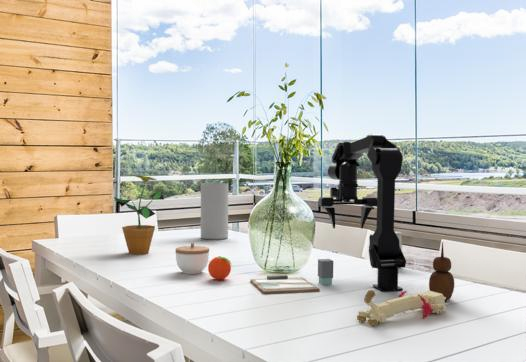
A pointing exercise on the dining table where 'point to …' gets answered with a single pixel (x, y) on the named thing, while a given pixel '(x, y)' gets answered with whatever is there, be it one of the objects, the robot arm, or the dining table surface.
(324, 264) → the grey and teal block
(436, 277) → the wooden figurine
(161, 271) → the dining table surface
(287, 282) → the square wooden frame
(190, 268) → the lidded jar
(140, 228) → the potted plant
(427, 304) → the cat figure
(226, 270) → the clementine
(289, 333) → the dining table surface
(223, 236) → the cylinder vase
